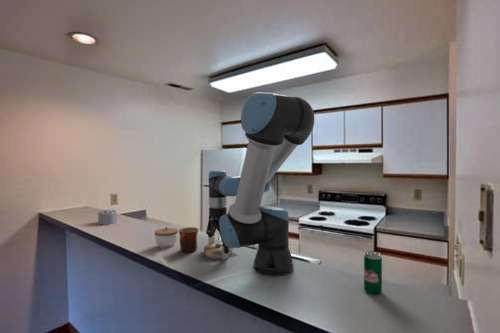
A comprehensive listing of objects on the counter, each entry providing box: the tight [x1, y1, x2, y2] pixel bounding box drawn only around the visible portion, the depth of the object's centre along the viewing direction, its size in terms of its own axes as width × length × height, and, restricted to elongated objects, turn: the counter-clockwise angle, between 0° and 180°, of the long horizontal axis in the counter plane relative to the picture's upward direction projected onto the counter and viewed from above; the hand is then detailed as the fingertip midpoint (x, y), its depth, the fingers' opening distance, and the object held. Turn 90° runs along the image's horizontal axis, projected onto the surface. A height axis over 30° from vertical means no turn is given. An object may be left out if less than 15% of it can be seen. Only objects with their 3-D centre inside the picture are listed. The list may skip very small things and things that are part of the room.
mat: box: [200, 251, 238, 262], centre depth 115 cm, size 12×12×1 cm
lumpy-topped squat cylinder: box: [97, 209, 118, 226], centre depth 180 cm, size 10×13×9 cm
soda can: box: [363, 250, 383, 296], centre depth 83 cm, size 5×5×12 cm
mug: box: [178, 226, 199, 254], centre depth 119 cm, size 12×9×10 cm
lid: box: [203, 242, 233, 260], centre depth 115 cm, size 12×12×4 cm
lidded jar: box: [154, 226, 179, 249], centre depth 129 cm, size 11×11×9 cm
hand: (218, 255), depth 116 cm, fingers open, 13 cm apart
